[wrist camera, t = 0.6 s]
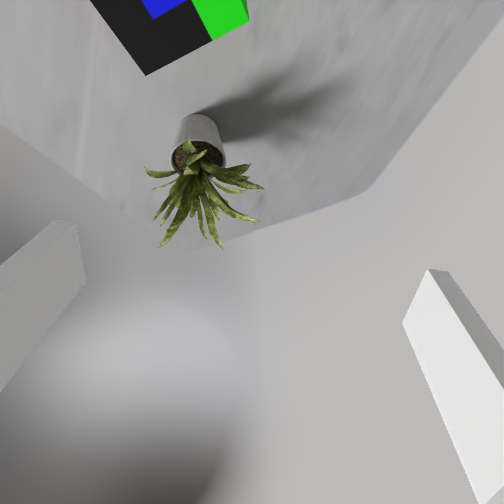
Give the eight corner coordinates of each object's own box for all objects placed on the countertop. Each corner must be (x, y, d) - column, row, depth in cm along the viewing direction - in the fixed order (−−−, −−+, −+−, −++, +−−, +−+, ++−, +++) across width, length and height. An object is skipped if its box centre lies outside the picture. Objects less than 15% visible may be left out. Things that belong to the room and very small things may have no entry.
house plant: (213, 188, 57) (214, 276, 48) (128, 151, 49) (111, 246, 40) (268, 126, 48) (283, 219, 38) (175, 68, 40) (167, 167, 31)
